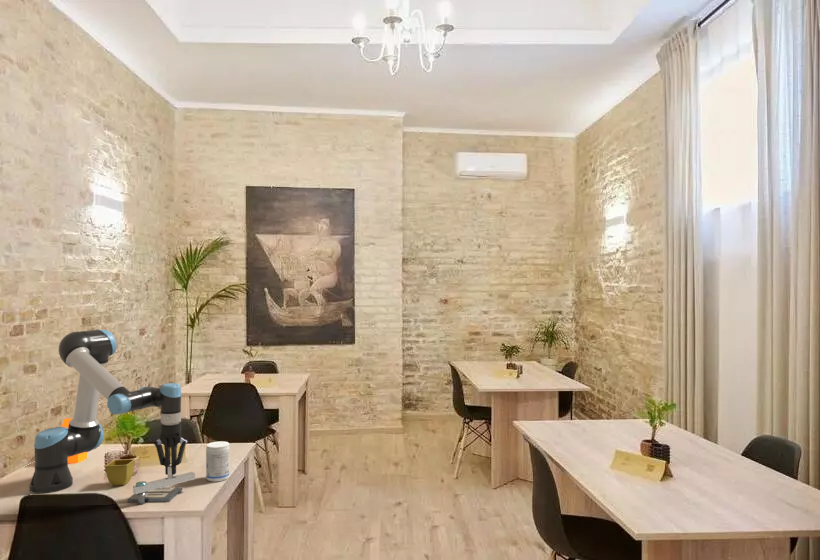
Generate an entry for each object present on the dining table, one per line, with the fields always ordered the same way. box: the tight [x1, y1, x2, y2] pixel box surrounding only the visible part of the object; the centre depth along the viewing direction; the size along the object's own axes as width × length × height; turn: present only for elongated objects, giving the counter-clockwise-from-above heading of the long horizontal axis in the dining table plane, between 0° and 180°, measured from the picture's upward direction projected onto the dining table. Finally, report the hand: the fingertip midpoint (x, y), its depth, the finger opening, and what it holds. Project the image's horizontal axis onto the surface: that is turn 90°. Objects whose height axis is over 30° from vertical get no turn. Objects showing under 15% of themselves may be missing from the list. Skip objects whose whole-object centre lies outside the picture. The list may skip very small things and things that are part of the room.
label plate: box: [126, 486, 183, 503], centre depth 230 cm, size 16×13×2 cm
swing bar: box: [132, 471, 196, 494], centre depth 229 cm, size 23×4×3 cm, turn 135°
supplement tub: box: [205, 440, 231, 483], centre depth 251 cm, size 10×10×15 cm
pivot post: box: [136, 492, 146, 506], centre depth 222 cm, size 3×3×4 cm
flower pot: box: [105, 458, 136, 487], centre depth 245 cm, size 9×9×9 cm
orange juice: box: [61, 418, 88, 464], centre depth 279 cm, size 8×9×20 cm
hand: (170, 482), depth 233 cm, fingers closed
